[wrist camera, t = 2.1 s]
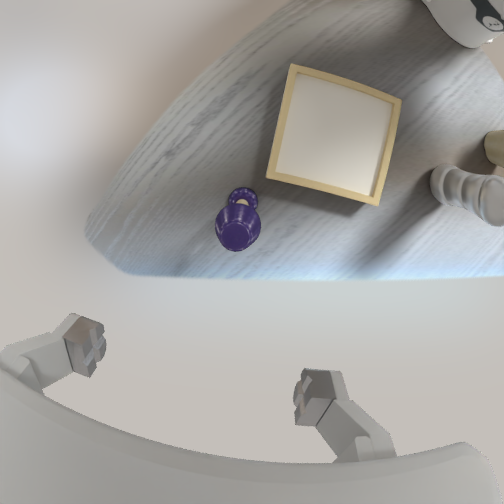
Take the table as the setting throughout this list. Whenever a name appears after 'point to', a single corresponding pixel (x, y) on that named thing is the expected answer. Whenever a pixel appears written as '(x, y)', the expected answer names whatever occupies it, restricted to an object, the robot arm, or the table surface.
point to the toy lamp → (239, 221)
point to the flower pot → (495, 147)
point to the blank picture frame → (334, 135)
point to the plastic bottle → (470, 192)
